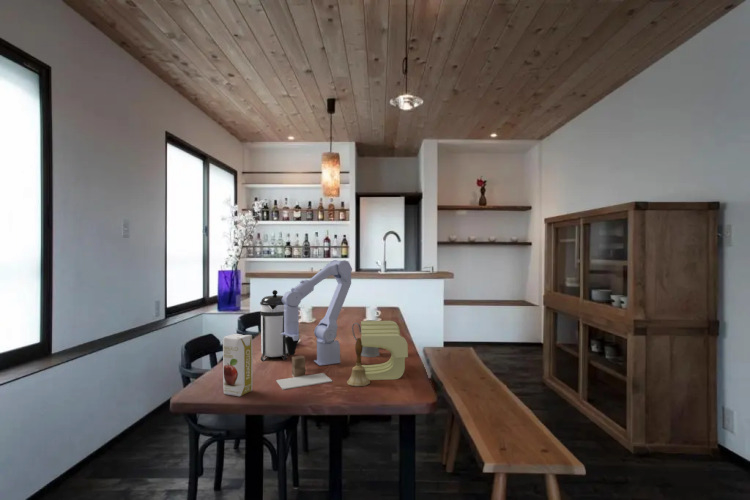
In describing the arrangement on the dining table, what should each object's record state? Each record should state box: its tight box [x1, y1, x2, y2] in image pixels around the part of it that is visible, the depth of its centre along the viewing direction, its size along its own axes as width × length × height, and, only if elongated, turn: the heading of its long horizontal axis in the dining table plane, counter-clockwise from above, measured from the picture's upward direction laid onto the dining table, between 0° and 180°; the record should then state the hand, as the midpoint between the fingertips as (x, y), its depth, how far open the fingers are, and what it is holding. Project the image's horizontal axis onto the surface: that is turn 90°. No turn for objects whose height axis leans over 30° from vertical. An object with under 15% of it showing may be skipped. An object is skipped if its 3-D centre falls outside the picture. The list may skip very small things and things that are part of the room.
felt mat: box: [275, 372, 333, 390], centre depth 143 cm, size 18×10×1 cm, turn 117°
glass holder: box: [351, 319, 381, 358], centre depth 181 cm, size 9×14×15 cm, turn 58°
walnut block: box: [291, 355, 306, 378], centre depth 150 cm, size 4×4×7 cm
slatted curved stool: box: [360, 320, 409, 381], centre depth 151 cm, size 30×16×18 cm, turn 2°
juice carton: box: [222, 333, 254, 397], centre depth 132 cm, size 8×9×19 cm
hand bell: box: [346, 337, 371, 387], centre depth 141 cm, size 8×8×16 cm
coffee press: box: [259, 289, 289, 361], centre depth 178 cm, size 17×16×30 cm
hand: (291, 355), depth 159 cm, fingers closed
